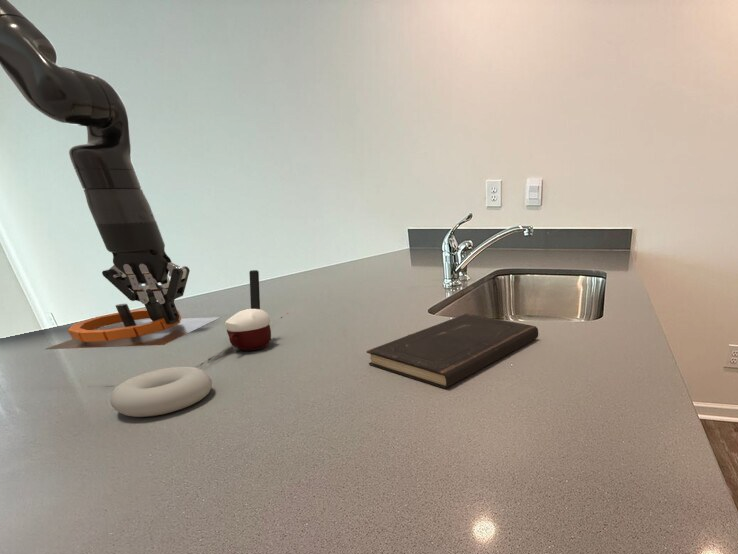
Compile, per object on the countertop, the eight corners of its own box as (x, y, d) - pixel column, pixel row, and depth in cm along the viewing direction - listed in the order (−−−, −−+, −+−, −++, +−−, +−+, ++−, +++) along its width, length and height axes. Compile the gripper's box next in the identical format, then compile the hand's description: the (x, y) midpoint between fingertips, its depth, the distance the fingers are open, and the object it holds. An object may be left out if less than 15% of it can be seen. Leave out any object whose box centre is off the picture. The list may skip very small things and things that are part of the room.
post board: (49, 357, 67) (27, 319, 64) (126, 327, 82) (112, 295, 79) (167, 353, 68) (151, 315, 65) (223, 324, 82) (212, 292, 79)
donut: (143, 391, 55) (97, 428, 46) (133, 368, 54) (83, 401, 45) (227, 381, 57) (197, 414, 48) (219, 359, 56) (187, 388, 47)
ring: (48, 343, 67) (42, 333, 66) (121, 317, 80) (118, 309, 79) (141, 340, 67) (137, 330, 66) (198, 315, 80) (195, 307, 80)
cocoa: (241, 359, 65) (215, 283, 59) (218, 353, 67) (192, 279, 62) (294, 340, 72) (275, 271, 67) (271, 335, 75) (252, 269, 70)
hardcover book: (369, 365, 61) (366, 350, 60) (467, 325, 78) (466, 313, 77) (447, 390, 53) (446, 374, 52) (538, 339, 70) (538, 326, 69)
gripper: (184, 217, 70) (218, 316, 77) (102, 219, 69) (144, 318, 77) (152, 220, 63) (192, 328, 70) (60, 222, 62) (110, 330, 70)
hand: (166, 322), depth 73 cm, fingers closed on ring, 1 cm apart
